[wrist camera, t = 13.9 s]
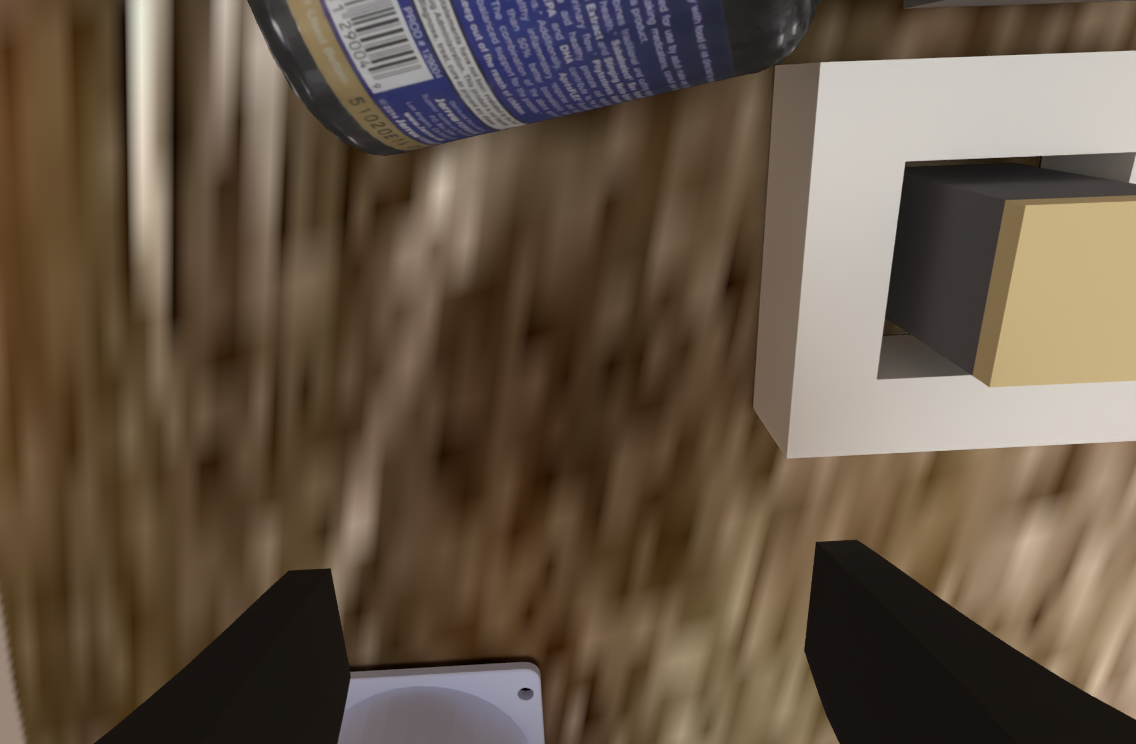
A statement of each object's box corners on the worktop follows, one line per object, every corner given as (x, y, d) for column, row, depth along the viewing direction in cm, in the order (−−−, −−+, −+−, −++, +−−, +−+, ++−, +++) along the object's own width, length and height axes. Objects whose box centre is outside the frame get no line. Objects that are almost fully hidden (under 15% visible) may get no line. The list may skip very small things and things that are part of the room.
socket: (1063, 392, 21) (1143, 440, 18) (752, 407, 21) (787, 458, 18) (1143, 51, 18) (1257, 46, 15) (775, 65, 17) (821, 62, 15)
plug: (988, 296, 20) (1164, 379, 14) (861, 301, 20) (989, 387, 14) (1013, 163, 19) (1218, 198, 13) (877, 168, 18) (1025, 205, 13)
